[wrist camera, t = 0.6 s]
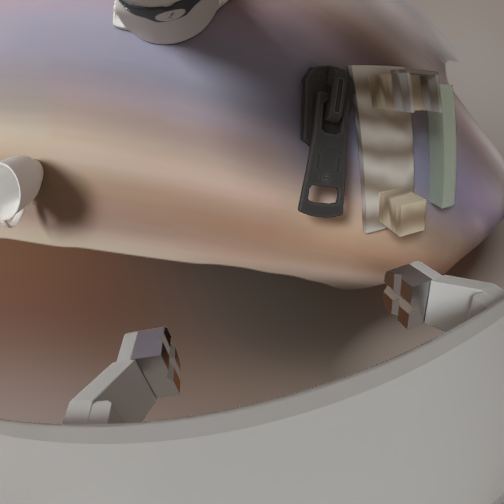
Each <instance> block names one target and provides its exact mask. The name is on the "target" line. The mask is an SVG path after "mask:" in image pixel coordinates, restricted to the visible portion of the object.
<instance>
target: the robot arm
mask: <svg viewBox="0 0 504 504" xmlns="http://www.w3.org/2000/svg"><path fill="white" fill-rule="evenodd" d="M228 1H229V0H115V2H114V7H113V8H114V12H113V25H114V26H115V27H116V28H118V29H122V30H128V31H131V32H132V33H134V34H135V35H136V36H138V37H139V38H141V39H142V40H144V41H147V42H150V43H154V44H173V43H178V42H182V41H185V40H187V39H189V38H191V37H193V36H195V35H197V34H198V33H200V32H201V31H202V30H203V29H204V28H205V27H206V26H207V25H208V24H209V23H210V21H211V20H212V18H213V17H214V15H215V13H216V11H217V10H218V9H219V8H220V7H221V6H223V5H224V4H225V3H226V2H228ZM384 282H385V283H386V284H387V287H386V289H385V291H384V303H385V306H386V308H387V310H388V311H389V312H390V313H391V314H393V315H397V316H398V321H399V322H400V323H401V324H402V325H403V326H404V327H405V328H406V329H409V328H411V327H414V326H416V325H419V324H421V323H425V324H427V325H430V326H432V327H435V328H438V329H440V330H442V331H445V332H446V333H444V334H442V335H440V336H438V337H436V338H434V339H432V340H430V341H428V342H426V343H424V344H422V345H420V346H417V347H415V348H413V349H411V350H409V351H407V352H405V353H402V354H400V355H398V356H396V357H393V358H391V359H389V360H386V361H384V362H382V363H379V364H376V365H374V366H372V367H369V368H367V369H364V370H362V371H359V372H356V373H354V374H351V375H348V376H345V377H343V378H340V379H337V380H334V381H331V382H328V383H325V384H322V385H319V386H316V387H313V388H310V389H306V390H303V391H299V392H296V393H293V394H289V395H285V396H282V397H278V398H275V399H271V400H267V401H263V402H259V403H254V404H250V405H245V406H241V407H236V408H232V409H226V410H221V411H216V412H210V413H205V414H199V415H193V416H186V417H180V418H171V419H163V420H154V421H143V420H144V418H145V417H146V415H147V414H148V412H149V411H150V409H151V408H152V406H153V405H154V403H155V402H156V400H157V399H156V398H162V397H168V396H174V395H179V394H180V379H179V377H178V374H179V373H180V360H179V356H178V353H177V350H176V347H175V346H174V345H172V344H171V335H170V333H169V330H168V328H166V327H161V328H155V329H149V330H142V331H136V332H131V333H127V334H125V336H124V339H123V342H122V345H121V348H120V352H119V355H118V359H117V362H114V363H112V364H111V365H110V366H109V367H107V368H106V369H105V370H104V371H103V372H102V373H101V374H100V375H99V376H97V377H96V378H95V379H94V380H93V381H92V382H91V383H90V384H89V385H88V386H86V387H85V388H84V389H83V390H82V391H81V392H80V393H79V394H78V395H77V396H75V397H74V398H73V399H72V400H71V401H70V403H69V406H68V409H67V412H66V415H65V418H64V421H63V424H48V423H32V422H22V421H12V420H4V419H0V504H504V290H503V289H501V288H500V287H498V286H497V285H495V284H494V283H488V282H483V281H477V280H471V279H466V278H460V277H454V276H449V275H444V276H442V275H441V274H439V273H438V272H436V271H434V270H433V269H431V268H430V267H428V266H426V265H425V264H423V263H422V262H420V261H414V262H412V263H409V264H406V265H404V266H401V267H398V268H395V269H392V270H389V271H386V274H385V279H384ZM142 421H143V422H142Z"/></svg>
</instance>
